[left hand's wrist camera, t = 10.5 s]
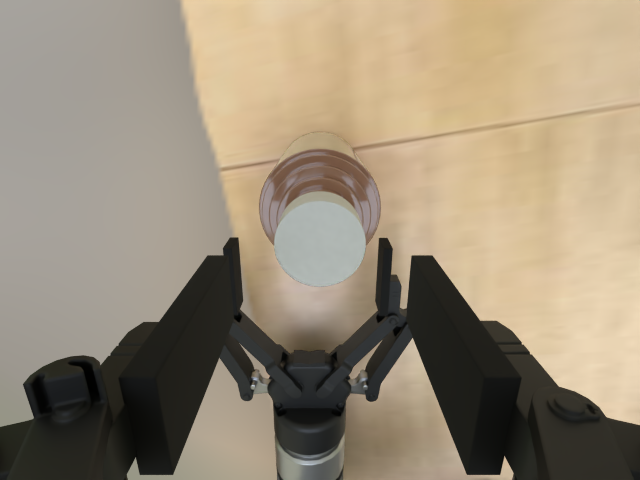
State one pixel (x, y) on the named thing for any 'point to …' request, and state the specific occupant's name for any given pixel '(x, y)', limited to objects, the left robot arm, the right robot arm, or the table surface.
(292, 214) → the cap
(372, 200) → the bottle
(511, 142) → the table surface
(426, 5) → the table surface
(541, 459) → the left robot arm
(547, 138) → the table surface
